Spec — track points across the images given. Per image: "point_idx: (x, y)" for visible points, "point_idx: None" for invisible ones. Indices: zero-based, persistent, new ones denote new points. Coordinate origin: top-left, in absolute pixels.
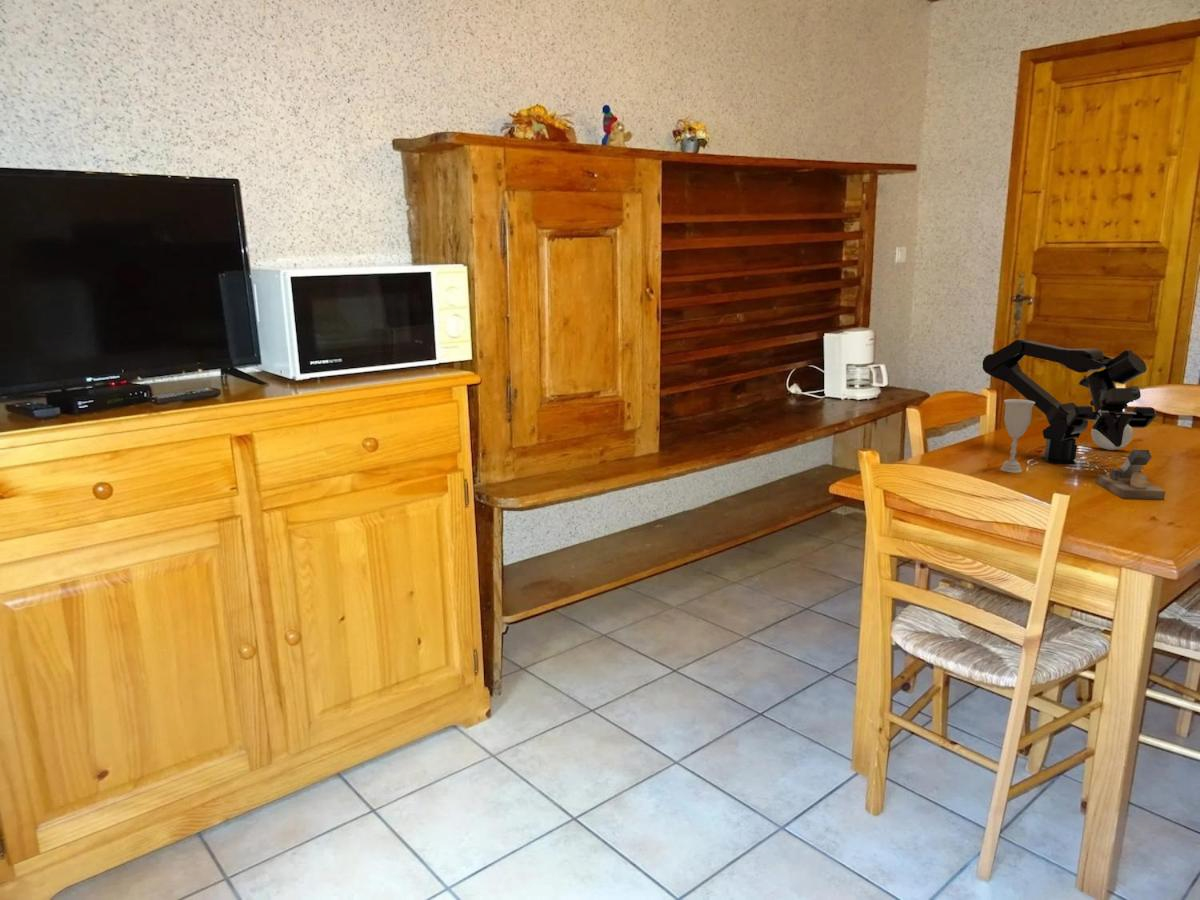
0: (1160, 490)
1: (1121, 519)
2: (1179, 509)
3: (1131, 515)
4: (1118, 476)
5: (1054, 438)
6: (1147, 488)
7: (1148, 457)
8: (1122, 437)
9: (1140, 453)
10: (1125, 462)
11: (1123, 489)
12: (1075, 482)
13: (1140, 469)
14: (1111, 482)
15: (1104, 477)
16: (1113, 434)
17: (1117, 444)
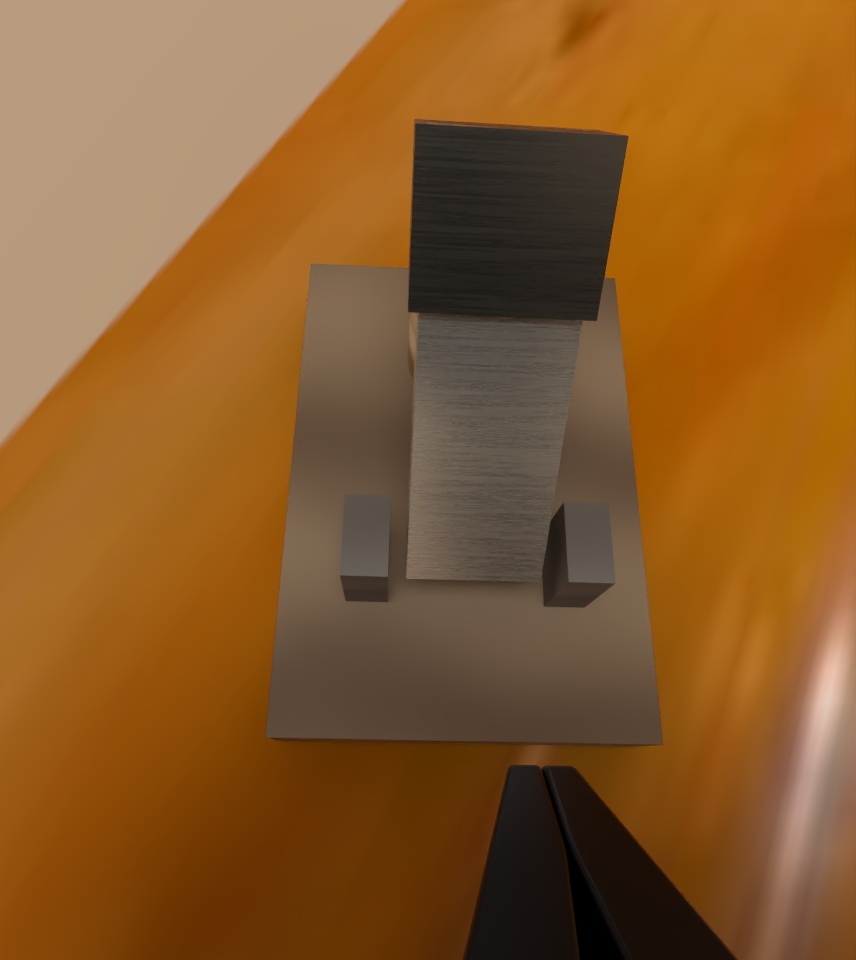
0: (337, 279)
1: (747, 16)
2: (344, 141)
3: (673, 61)
4: (552, 523)
5: None
6: (409, 321)
7: (453, 121)
8: (483, 878)
9: (538, 128)
10: (567, 405)
11: (608, 296)
12: (817, 736)
13: (413, 384)
14: (626, 471)
15: (626, 635)
16: (718, 939)
17: (573, 781)
